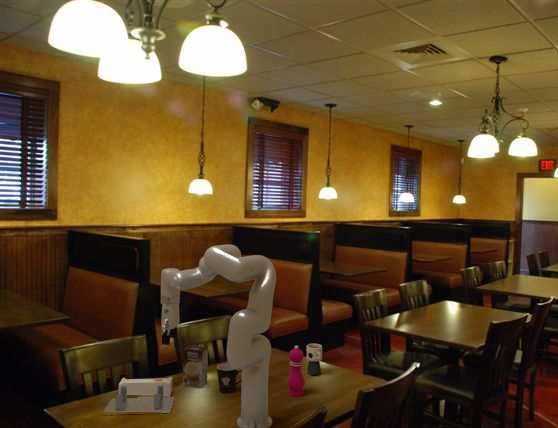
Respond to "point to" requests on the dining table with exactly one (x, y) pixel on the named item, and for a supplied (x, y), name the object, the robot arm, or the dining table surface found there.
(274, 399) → the dining table surface
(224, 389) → the coffee mug
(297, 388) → the pepper mill
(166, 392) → the strip bar
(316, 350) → the character mug
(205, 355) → the coffee box
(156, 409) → the slot rack
